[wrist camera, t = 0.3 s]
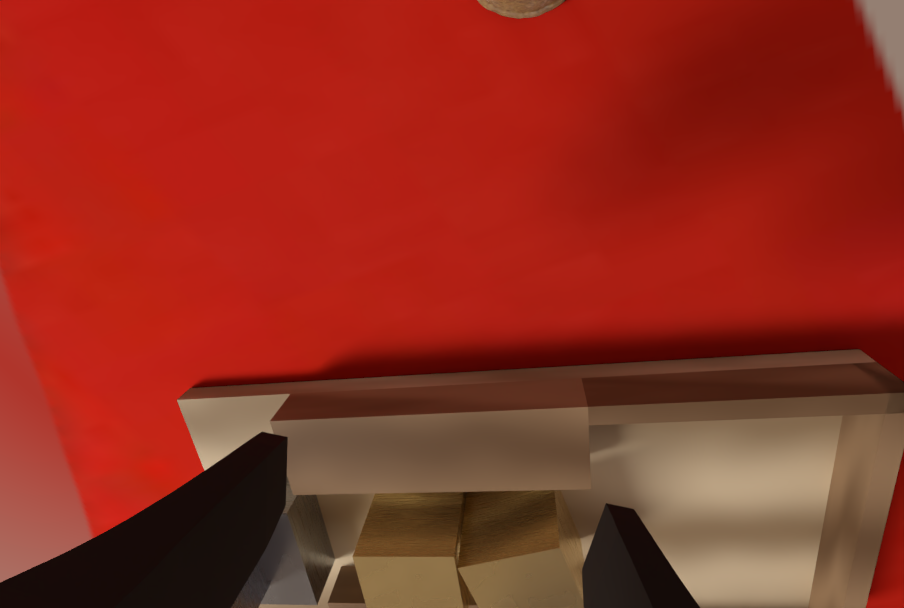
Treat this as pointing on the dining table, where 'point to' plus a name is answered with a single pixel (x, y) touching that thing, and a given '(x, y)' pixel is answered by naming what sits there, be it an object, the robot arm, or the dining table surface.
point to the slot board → (611, 459)
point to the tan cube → (412, 551)
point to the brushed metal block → (292, 558)
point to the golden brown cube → (521, 550)
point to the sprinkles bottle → (520, 7)
